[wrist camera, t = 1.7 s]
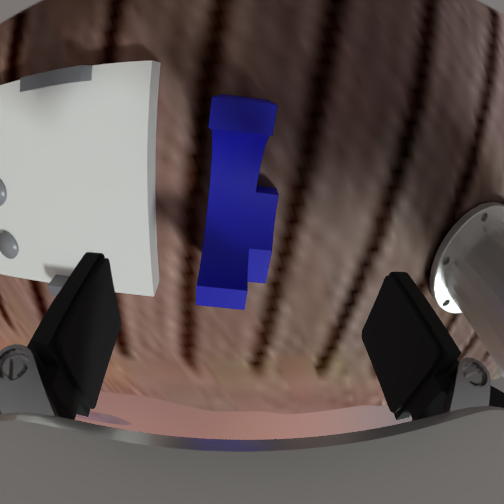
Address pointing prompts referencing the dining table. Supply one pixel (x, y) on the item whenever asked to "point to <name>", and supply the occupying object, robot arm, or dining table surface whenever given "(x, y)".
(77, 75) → the white square board
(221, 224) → the cable clip
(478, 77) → the dining table surface
